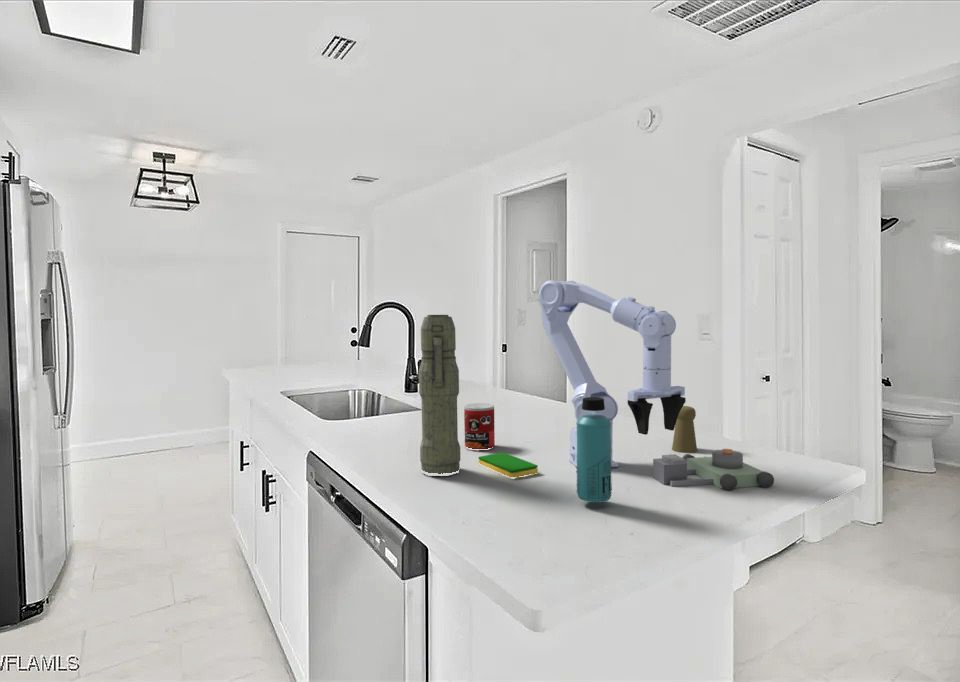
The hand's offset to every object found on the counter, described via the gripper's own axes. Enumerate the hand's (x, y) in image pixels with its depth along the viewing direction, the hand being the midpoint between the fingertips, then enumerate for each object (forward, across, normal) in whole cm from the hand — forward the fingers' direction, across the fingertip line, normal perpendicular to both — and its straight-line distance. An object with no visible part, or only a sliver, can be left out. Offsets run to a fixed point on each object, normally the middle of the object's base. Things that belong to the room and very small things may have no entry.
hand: (656, 431), depth 127 cm
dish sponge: (+10, -25, +20) cm, 34 cm away
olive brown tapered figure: (+10, +22, +13) cm, 27 cm away
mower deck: (+10, +8, -7) cm, 14 cm away
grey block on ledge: (+10, 0, -4) cm, 10 cm away
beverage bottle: (+10, -23, -8) cm, 26 cm away
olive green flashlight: (+10, -39, +26) cm, 48 cm away
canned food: (+10, -21, +41) cm, 47 cm away
